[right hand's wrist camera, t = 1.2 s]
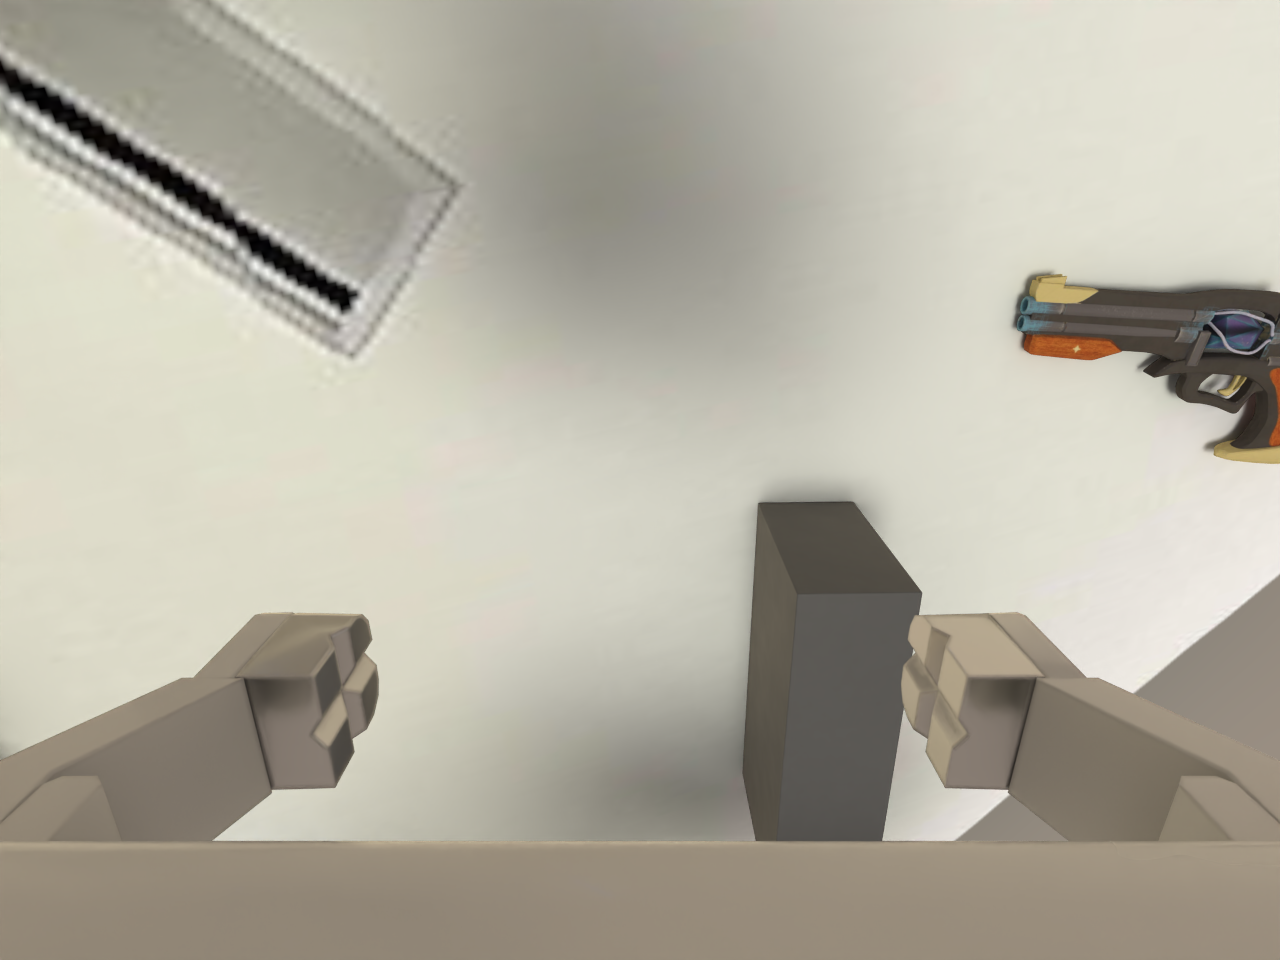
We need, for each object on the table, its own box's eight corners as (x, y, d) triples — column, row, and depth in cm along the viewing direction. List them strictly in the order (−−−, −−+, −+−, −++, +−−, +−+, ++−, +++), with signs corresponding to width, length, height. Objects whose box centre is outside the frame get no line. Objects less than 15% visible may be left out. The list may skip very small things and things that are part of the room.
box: (758, 502, 43) (797, 594, 33) (853, 501, 43) (923, 592, 33) (742, 772, 51) (769, 914, 41) (823, 771, 51) (870, 913, 41)
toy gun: (1322, 472, 40) (1421, 300, 35) (990, 450, 41) (1045, 278, 36) (1286, 452, 42) (1375, 288, 37) (974, 431, 43) (1023, 268, 38)
